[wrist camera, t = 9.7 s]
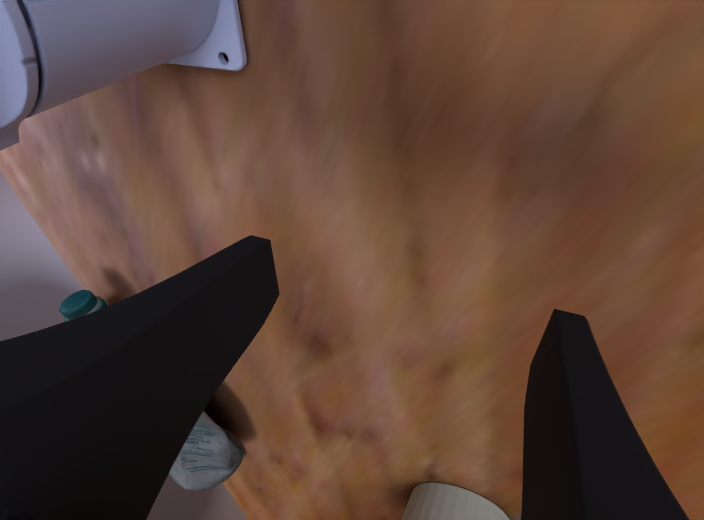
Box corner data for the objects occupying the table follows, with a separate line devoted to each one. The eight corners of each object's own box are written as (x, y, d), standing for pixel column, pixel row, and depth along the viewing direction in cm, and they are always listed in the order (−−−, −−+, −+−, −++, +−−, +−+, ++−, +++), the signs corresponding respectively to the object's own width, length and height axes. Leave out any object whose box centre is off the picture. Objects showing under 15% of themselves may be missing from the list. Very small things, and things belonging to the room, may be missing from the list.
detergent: (270, 452, 47) (170, 283, 32) (230, 517, 42) (90, 355, 27) (187, 416, 53) (69, 260, 38) (143, 469, 48) (-10, 315, 33)
